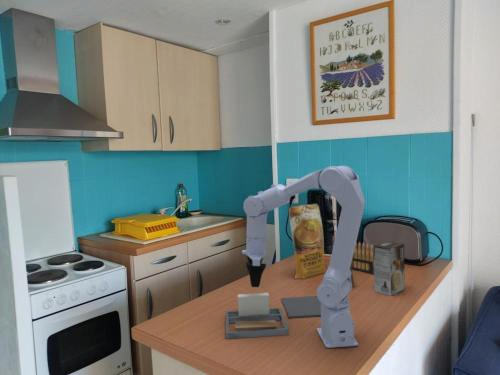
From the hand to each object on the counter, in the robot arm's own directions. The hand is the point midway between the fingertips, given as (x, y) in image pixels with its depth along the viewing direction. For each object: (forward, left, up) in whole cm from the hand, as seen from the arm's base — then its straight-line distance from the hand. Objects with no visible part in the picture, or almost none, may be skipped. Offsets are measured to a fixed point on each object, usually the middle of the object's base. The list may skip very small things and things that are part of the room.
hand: (254, 281), depth 104 cm
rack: (-5, +1, -11) cm, 12 cm away
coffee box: (+14, -47, -11) cm, 51 cm away
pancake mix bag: (+35, -24, -11) cm, 44 cm away
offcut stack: (-9, +1, -11) cm, 14 cm away
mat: (+4, -16, -11) cm, 20 cm away
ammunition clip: (+35, -46, -11) cm, 59 cm away
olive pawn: (+20, -34, -11) cm, 41 cm away
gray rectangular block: (-1, +1, -11) cm, 11 cm away
